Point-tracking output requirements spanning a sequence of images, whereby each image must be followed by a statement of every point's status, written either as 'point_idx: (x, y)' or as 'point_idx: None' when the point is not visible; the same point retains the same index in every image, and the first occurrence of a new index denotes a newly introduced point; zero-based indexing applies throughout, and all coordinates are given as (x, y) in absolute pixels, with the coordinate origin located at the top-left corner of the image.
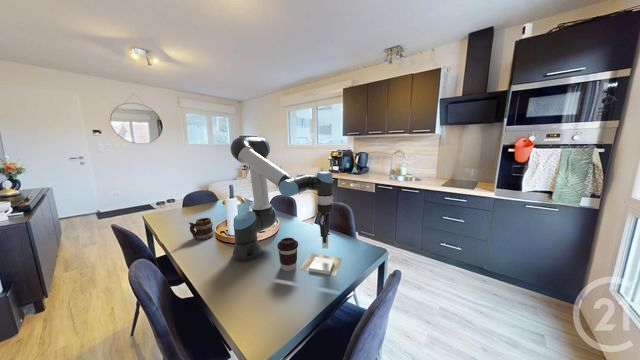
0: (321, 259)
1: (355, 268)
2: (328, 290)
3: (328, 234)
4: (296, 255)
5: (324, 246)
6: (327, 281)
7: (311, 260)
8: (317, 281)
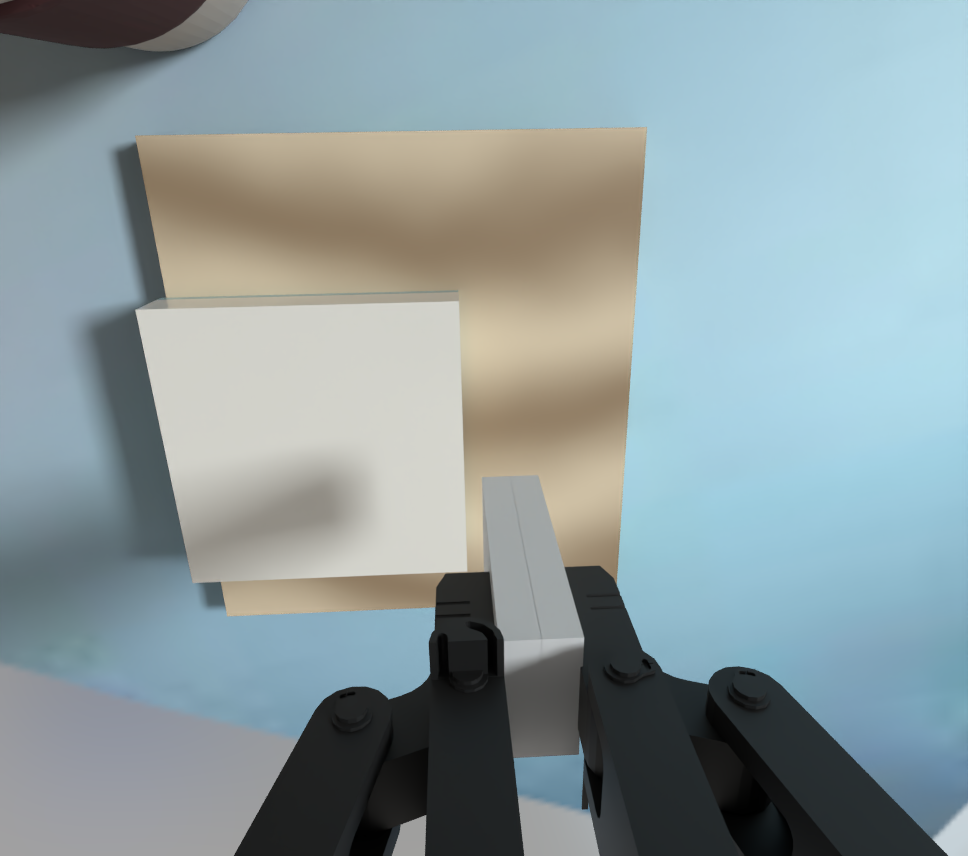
0: (417, 413)
1: None
2: (16, 584)
3: (583, 789)
4: (35, 34)
5: (484, 536)
6: (144, 538)
7: (439, 230)
8: (88, 441)
